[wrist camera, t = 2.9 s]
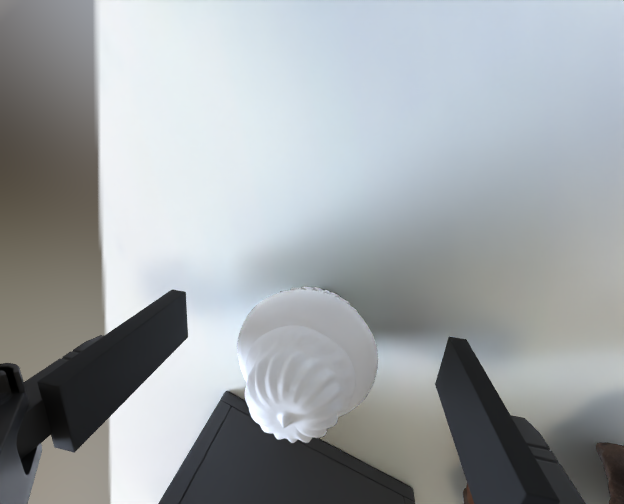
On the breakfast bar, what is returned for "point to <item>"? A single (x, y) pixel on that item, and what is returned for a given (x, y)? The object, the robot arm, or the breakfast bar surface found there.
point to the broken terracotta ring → (617, 464)
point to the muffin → (305, 362)
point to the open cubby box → (273, 468)
